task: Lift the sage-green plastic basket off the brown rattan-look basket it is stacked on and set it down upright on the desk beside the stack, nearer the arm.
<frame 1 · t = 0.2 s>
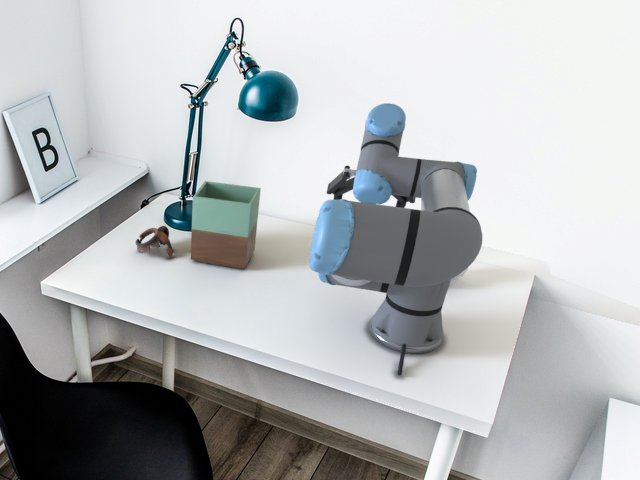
hand: (367, 210, 164), 16 cm above the table, tool tilted 35°, fingers open, 13 cm apart
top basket: (224, 227, 173), point 9 cm above the table, touching bottom basket
ink cartridge: (341, 254, 178), on the table
brown headphones: (156, 253, 181), on the table
bottom basket: (222, 257, 178), on the table, touching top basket
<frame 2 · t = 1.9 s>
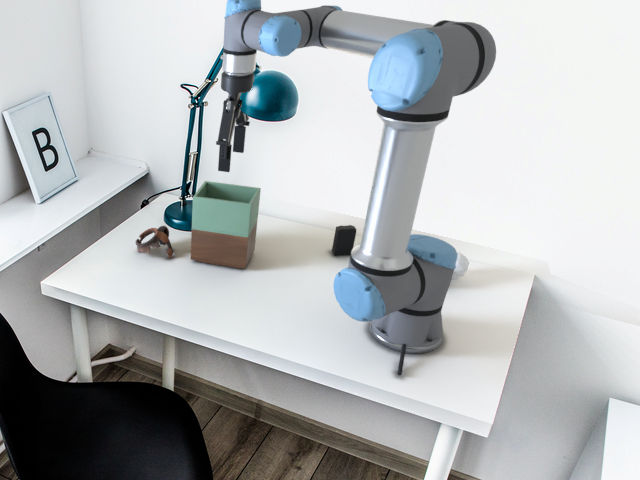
hand: (231, 161, 162), 27 cm above the table, tool pointing down, fingers open, 13 cm apart
nothing on the table moved.
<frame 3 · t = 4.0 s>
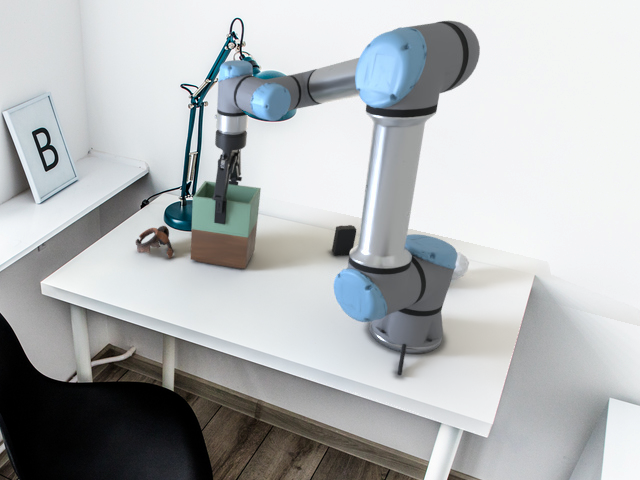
hand: (225, 213, 170), 13 cm above the table, tool pointing down, fingers closed on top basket, 11 cm apart
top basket: (224, 227, 173), point 9 cm above the table, touching bottom basket, gripper
everything else where it was.
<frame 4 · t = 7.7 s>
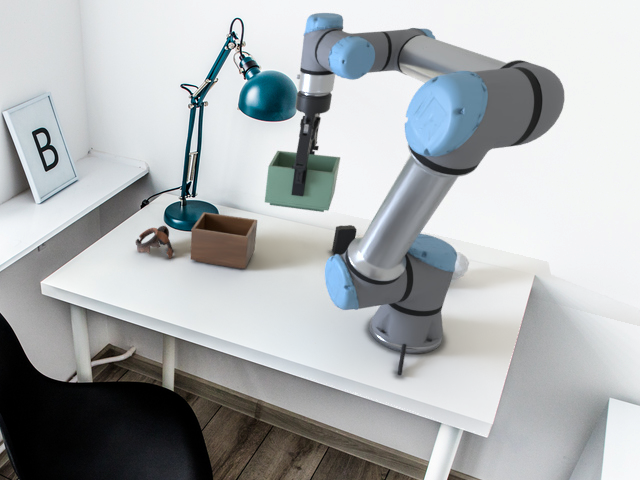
hand: (301, 185, 157), 24 cm above the table, tool pointing down, fingers closed on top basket, 11 cm apart
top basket: (299, 201, 159), point 20 cm above the table, touching gripper
bottom basket: (222, 257, 178), on the table
everything else where it was.
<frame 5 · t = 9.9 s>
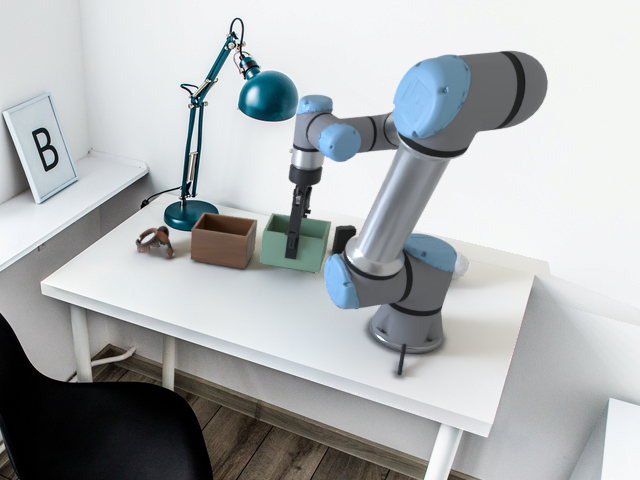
hand: (294, 247, 166), 7 cm above the table, tool pointing down, fingers closed on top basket, 11 cm apart
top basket: (292, 261, 169), point 3 cm above the table, touching gripper
everything else where it was.
when the fingers open (4 cm above the table, at t = 11.6 s): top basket stays where it is, on the table.
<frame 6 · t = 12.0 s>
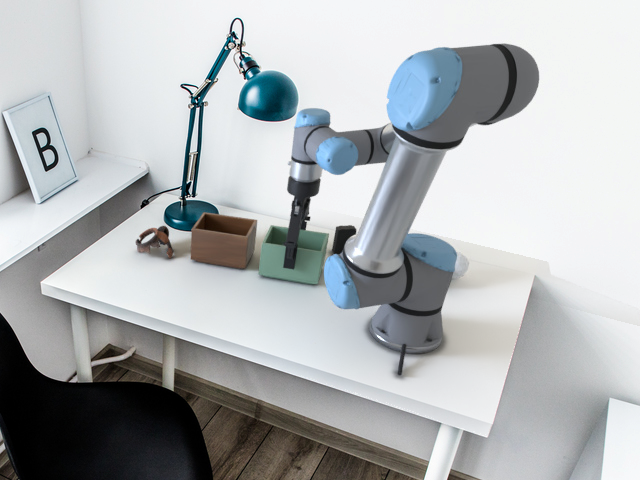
hand: (293, 255, 167), 5 cm above the table, tool pointing down, fingers open, 13 cm apart
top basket: (290, 272, 171), on the table
everything else where it was.
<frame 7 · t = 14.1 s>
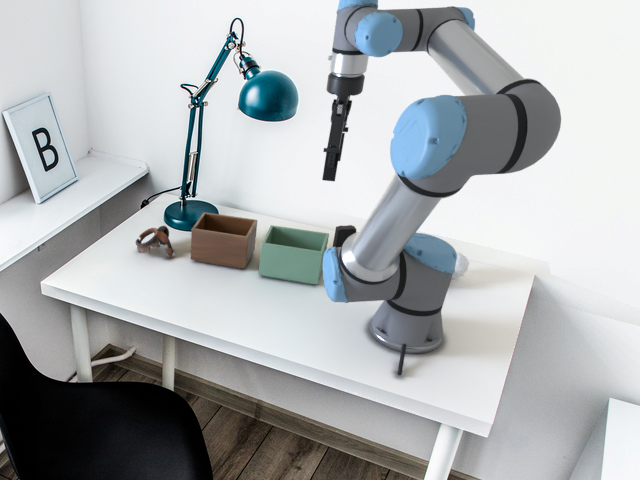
hand: (331, 170, 151), 29 cm above the table, tool pointing down, fingers open, 13 cm apart
nothing on the table moved.
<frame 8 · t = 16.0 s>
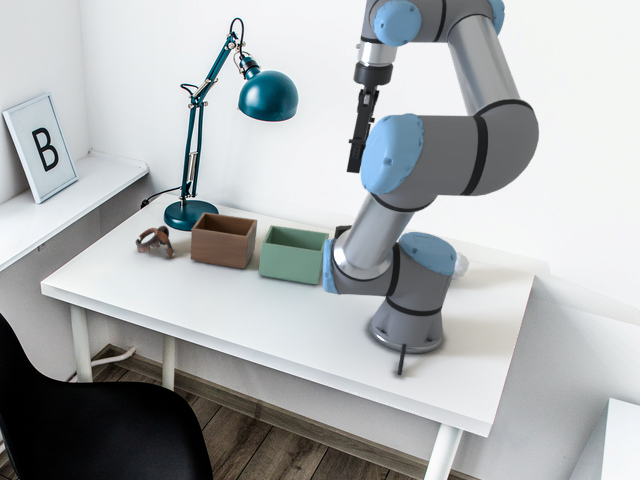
hand: (356, 161, 148), 32 cm above the table, tool pointing down, fingers open, 13 cm apart
nothing on the table moved.
at the end: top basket inside the target area (0.1 cm from its centre), on the table; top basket tilted 0°; bottom basket moved 0.0 cm from its start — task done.
